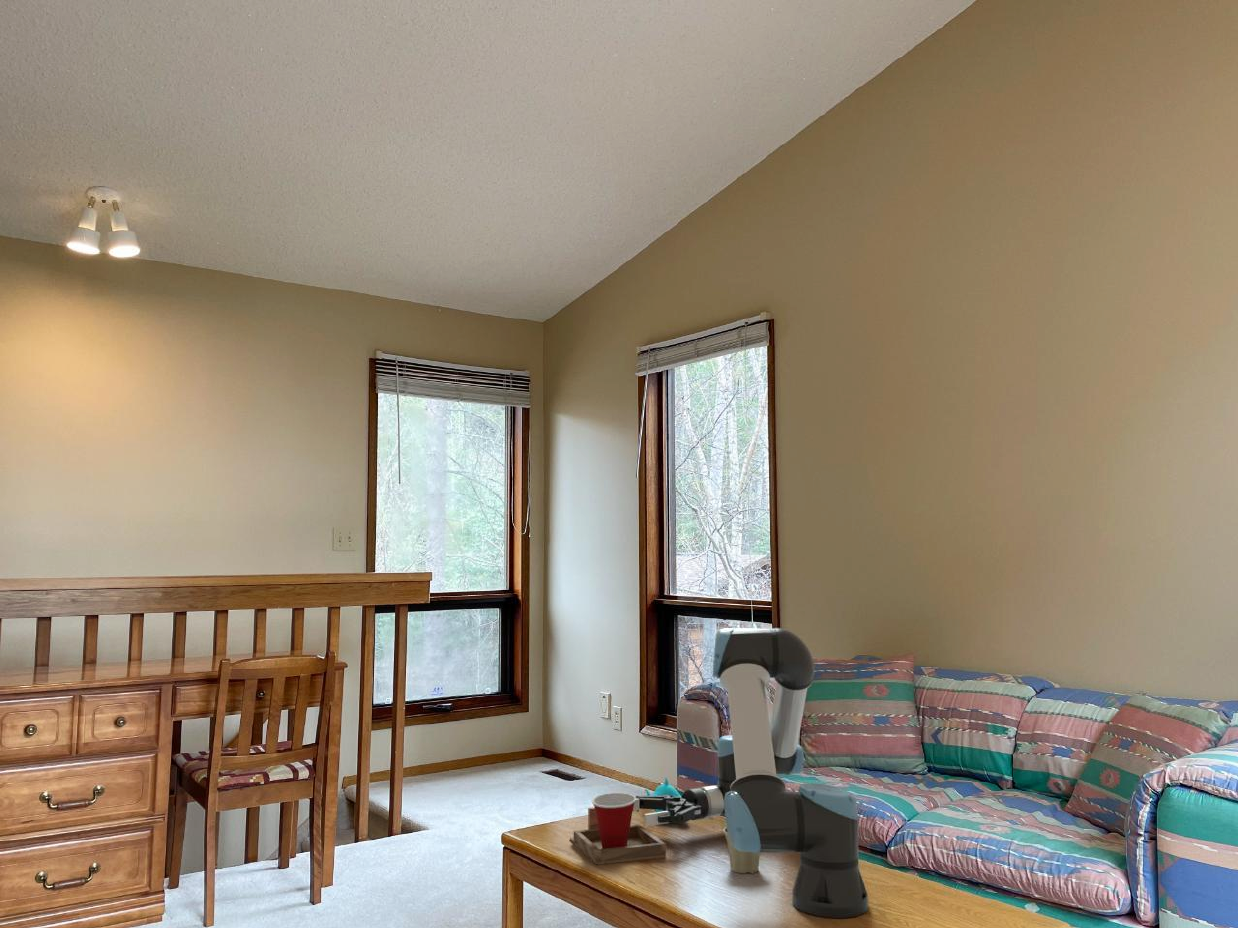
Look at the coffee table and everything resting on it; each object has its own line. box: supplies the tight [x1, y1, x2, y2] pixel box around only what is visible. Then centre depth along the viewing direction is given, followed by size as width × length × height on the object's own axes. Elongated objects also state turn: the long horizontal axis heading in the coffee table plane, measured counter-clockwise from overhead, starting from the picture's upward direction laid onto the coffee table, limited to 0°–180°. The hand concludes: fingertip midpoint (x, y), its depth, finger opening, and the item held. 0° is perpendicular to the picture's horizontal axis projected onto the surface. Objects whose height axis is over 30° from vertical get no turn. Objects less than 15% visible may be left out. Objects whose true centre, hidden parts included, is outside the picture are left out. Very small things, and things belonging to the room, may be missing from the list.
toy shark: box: [644, 777, 682, 814], centre depth 261 cm, size 10×18×11 cm, turn 37°
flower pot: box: [722, 826, 761, 874], centre depth 218 cm, size 9×9×9 cm
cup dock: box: [569, 806, 667, 865], centre depth 234 cm, size 21×17×8 cm
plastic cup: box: [591, 792, 636, 849], centre depth 232 cm, size 11×11×12 cm
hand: (630, 813), depth 234 cm, fingers open, 13 cm apart
